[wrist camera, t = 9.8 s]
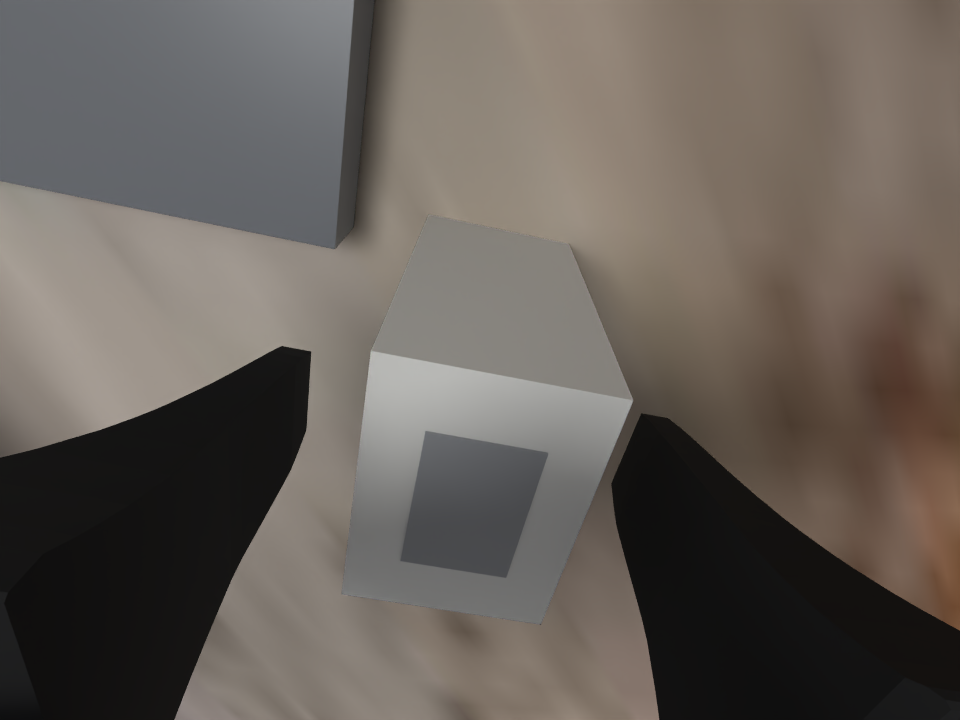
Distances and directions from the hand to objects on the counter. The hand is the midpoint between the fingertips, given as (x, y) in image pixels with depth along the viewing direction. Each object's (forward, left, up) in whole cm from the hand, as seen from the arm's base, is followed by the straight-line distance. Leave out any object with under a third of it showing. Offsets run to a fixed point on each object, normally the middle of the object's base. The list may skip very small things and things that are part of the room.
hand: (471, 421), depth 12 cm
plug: (0, 0, -5) cm, 5 cm away
